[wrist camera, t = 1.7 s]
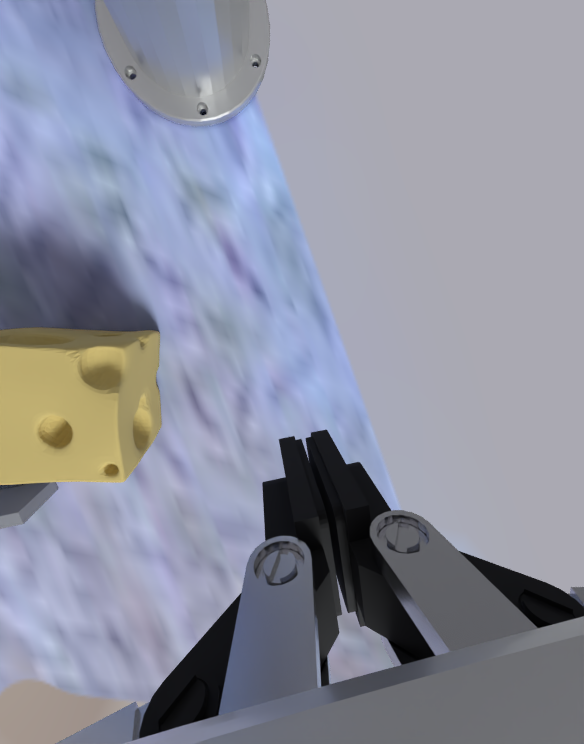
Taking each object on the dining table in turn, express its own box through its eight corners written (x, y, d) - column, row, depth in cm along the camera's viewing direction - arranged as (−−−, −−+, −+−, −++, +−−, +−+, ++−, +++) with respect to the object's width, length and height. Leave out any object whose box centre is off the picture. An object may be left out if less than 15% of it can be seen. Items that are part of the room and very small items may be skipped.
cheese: (162, 328, 29) (117, 345, 19) (165, 432, 32) (128, 493, 22) (41, 322, 28) (-71, 337, 18) (55, 431, 30) (-37, 496, 21)
